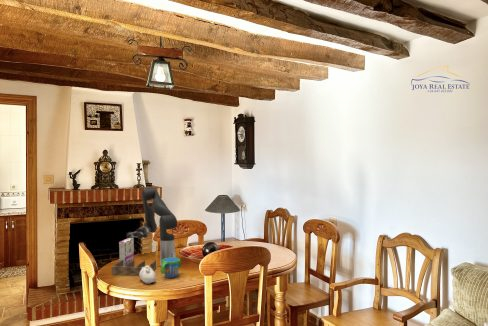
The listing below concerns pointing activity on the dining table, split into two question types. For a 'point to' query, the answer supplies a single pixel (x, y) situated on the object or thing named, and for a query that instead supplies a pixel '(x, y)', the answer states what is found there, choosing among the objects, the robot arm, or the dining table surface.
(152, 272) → the white spotted figurine
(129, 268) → the walnut rack
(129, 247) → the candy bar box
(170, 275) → the snack cup
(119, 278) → the dining table surface
